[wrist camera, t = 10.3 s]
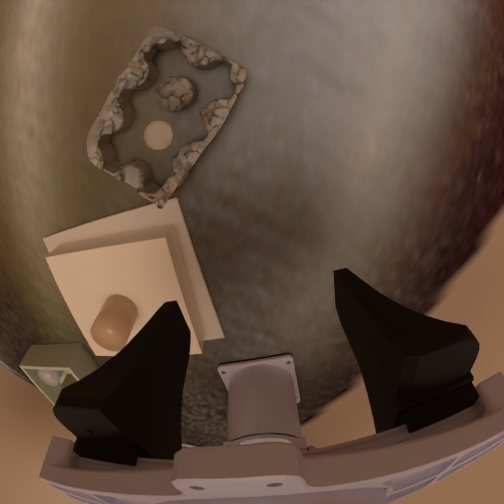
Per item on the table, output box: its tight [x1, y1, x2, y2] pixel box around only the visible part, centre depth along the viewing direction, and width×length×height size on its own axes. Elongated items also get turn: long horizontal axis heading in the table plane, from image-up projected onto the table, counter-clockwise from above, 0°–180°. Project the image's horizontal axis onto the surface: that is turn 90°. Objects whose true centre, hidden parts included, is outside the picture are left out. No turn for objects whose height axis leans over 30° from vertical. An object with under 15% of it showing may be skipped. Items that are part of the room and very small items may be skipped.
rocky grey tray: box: [87, 26, 248, 209], centre depth 17 cm, size 11×8×4 cm
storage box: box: [19, 343, 99, 406], centre depth 29 cm, size 10×10×4 cm
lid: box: [45, 224, 205, 356], centre depth 22 cm, size 11×11×6 cm
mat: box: [43, 196, 225, 340], centre depth 25 cm, size 14×14×1 cm
